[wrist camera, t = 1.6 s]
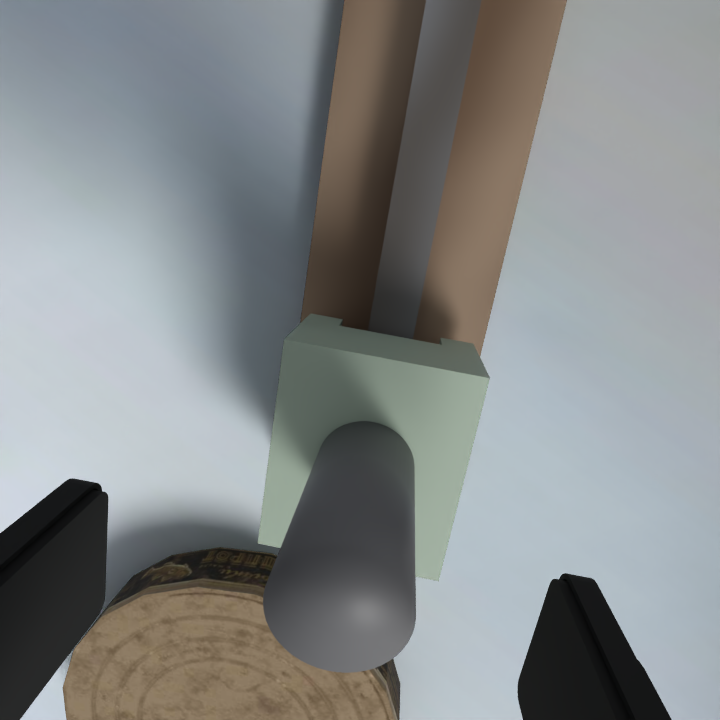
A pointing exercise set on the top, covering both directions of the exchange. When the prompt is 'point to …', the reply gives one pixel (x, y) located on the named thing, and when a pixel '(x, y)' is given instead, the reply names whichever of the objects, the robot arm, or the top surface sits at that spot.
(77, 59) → the top surface
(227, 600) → the round wood slice
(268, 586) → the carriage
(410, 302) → the slide rail
